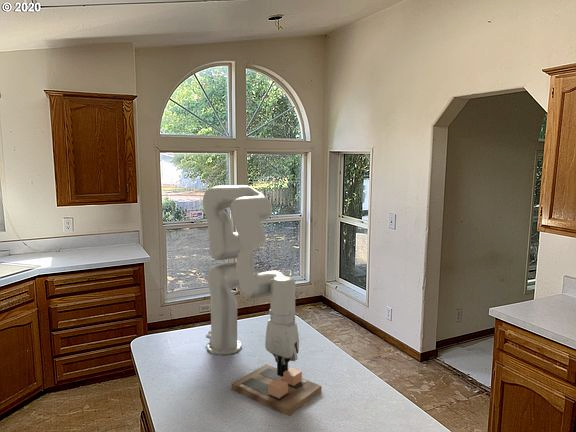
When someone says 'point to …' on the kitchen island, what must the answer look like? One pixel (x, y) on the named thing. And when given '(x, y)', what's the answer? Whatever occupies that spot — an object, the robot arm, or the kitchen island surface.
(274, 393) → the tab
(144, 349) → the kitchen island surface
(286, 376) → the tab
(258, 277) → the robot arm
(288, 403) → the switch board
